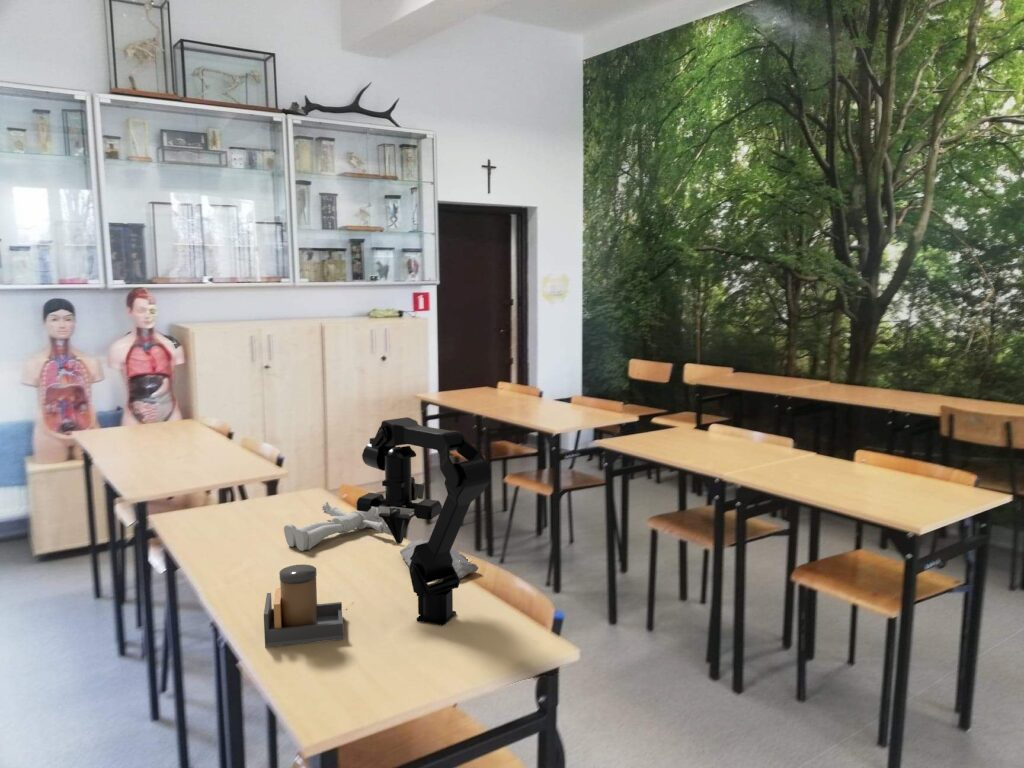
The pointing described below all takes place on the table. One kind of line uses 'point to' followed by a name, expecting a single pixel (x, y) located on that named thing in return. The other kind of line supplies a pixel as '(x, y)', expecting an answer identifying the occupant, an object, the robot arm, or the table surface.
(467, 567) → the stone
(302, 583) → the jar
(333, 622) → the tray
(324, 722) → the table surface
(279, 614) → the block
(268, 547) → the table surface
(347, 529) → the toy
